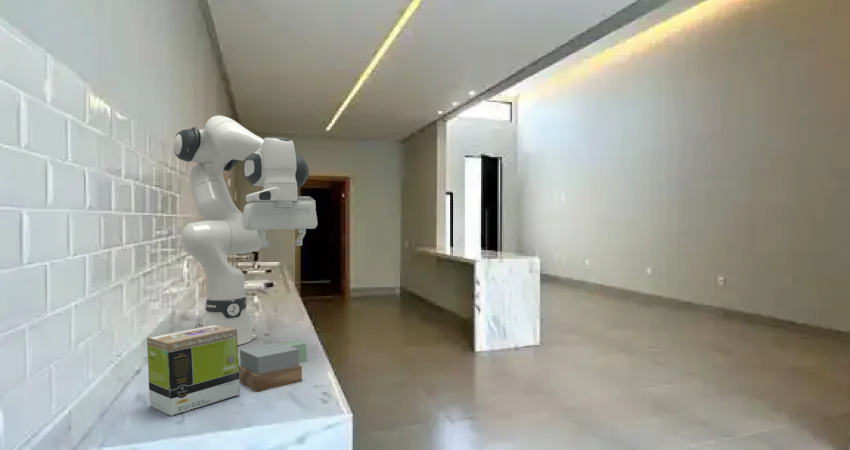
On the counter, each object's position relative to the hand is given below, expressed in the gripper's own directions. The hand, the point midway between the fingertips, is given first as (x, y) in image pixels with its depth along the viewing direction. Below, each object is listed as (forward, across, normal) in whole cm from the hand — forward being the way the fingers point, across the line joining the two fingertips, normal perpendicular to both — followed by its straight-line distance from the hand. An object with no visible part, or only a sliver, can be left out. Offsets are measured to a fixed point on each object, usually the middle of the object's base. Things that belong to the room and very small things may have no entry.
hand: (282, 246), depth 136 cm
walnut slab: (+32, +10, +13) cm, 36 cm away
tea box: (+32, +28, +15) cm, 45 cm away
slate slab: (+28, +10, +13) cm, 33 cm away
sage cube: (+31, -2, +1) cm, 31 cm away
